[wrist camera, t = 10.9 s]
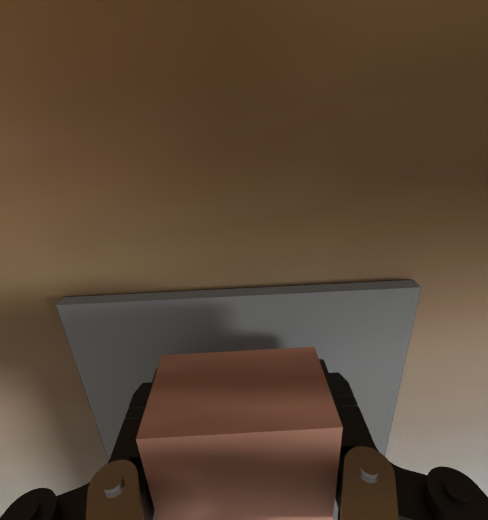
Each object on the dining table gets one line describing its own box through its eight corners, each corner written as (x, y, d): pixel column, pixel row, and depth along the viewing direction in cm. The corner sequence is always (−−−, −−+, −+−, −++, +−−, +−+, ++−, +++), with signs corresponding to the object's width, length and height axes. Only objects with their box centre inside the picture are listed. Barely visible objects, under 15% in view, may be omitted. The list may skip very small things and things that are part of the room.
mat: (63, 297, 13) (56, 305, 12) (413, 279, 13) (421, 287, 12) (140, 532, 20) (137, 544, 19) (365, 521, 20) (368, 532, 19)
